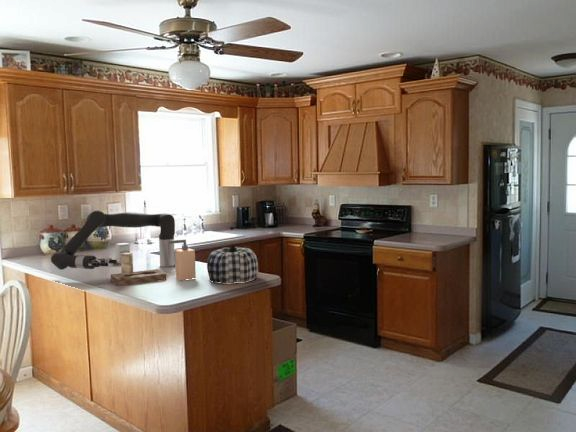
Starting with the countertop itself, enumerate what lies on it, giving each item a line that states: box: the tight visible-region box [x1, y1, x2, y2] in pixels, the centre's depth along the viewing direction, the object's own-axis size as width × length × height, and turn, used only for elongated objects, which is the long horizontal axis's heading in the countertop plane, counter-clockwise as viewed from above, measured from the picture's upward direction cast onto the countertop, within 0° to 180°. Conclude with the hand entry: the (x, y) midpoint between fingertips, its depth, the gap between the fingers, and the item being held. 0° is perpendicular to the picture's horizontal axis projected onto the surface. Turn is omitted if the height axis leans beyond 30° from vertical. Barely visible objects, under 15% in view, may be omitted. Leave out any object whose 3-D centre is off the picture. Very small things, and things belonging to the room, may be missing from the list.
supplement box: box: [115, 242, 131, 264], centre depth 345 cm, size 7×7×13 cm
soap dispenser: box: [169, 239, 197, 281], centre depth 288 cm, size 13×9×22 cm
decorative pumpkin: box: [206, 243, 259, 283], centre depth 285 cm, size 30×29×20 cm
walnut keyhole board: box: [110, 268, 167, 287], centre depth 287 cm, size 26×16×4 cm, turn 122°
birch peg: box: [120, 252, 134, 276], centre depth 283 cm, size 5×5×16 cm
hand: (112, 262), depth 285 cm, fingers open, 8 cm apart
